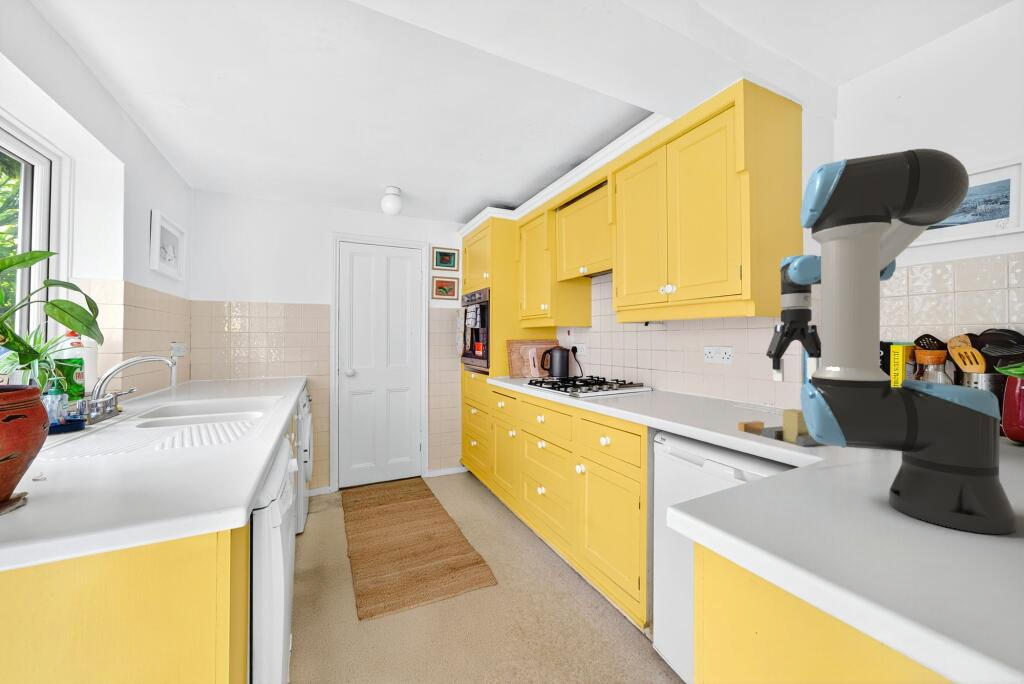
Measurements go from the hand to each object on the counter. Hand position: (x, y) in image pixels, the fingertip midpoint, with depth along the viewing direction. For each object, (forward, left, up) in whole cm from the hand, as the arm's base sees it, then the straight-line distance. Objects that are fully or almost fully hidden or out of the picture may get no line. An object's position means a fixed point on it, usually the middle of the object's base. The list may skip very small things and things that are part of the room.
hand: (795, 380), depth 120 cm
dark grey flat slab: (0, +5, -19) cm, 19 cm away
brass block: (0, 0, -18) cm, 18 cm away
